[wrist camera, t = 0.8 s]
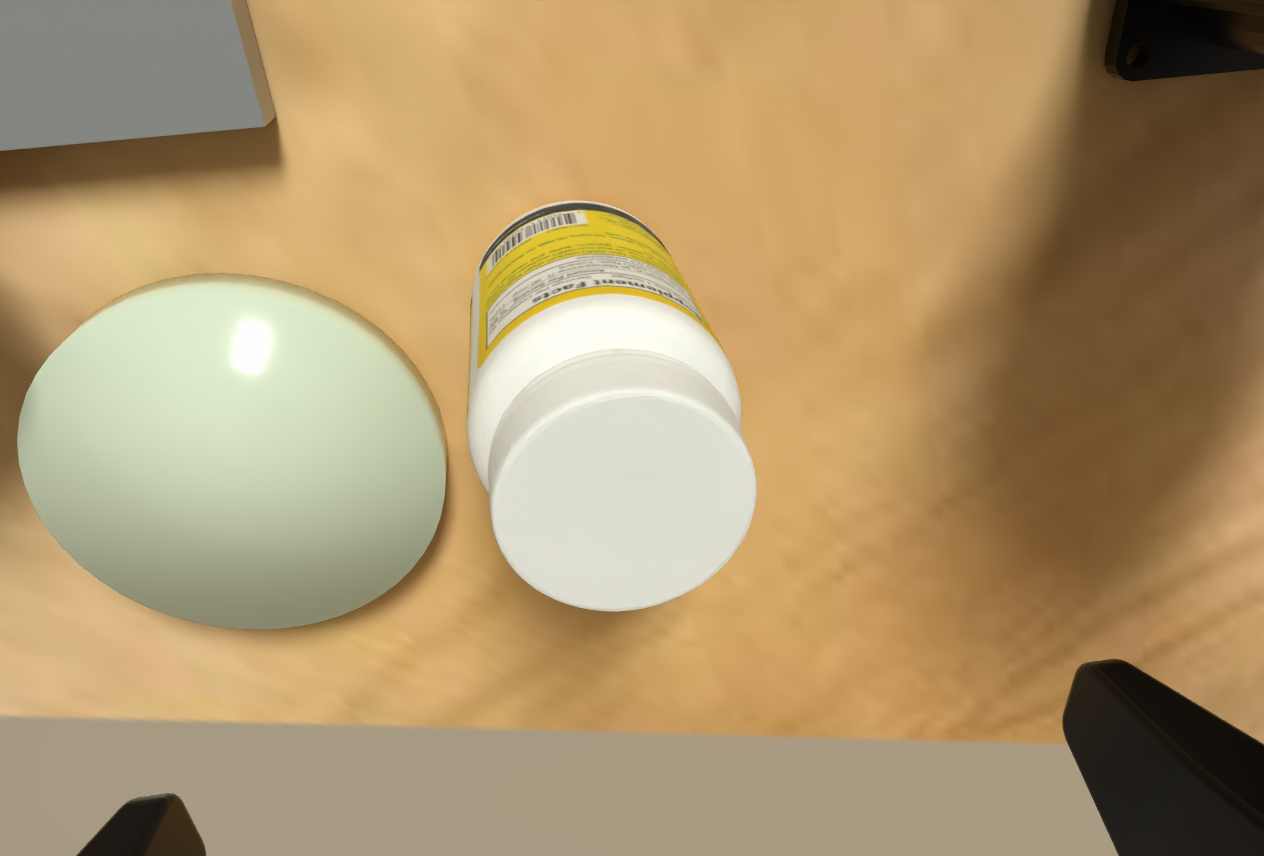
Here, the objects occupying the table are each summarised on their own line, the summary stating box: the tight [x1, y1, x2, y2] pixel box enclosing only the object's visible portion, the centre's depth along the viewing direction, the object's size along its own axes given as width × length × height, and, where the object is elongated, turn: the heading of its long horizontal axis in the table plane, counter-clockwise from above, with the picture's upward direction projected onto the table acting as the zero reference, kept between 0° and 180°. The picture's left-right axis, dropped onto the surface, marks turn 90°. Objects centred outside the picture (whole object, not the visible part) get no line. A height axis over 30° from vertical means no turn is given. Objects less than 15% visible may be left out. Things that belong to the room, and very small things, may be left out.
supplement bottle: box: [467, 200, 757, 612], centre depth 16 cm, size 5×5×8 cm
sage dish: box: [17, 273, 447, 630], centre depth 20 cm, size 9×9×1 cm
